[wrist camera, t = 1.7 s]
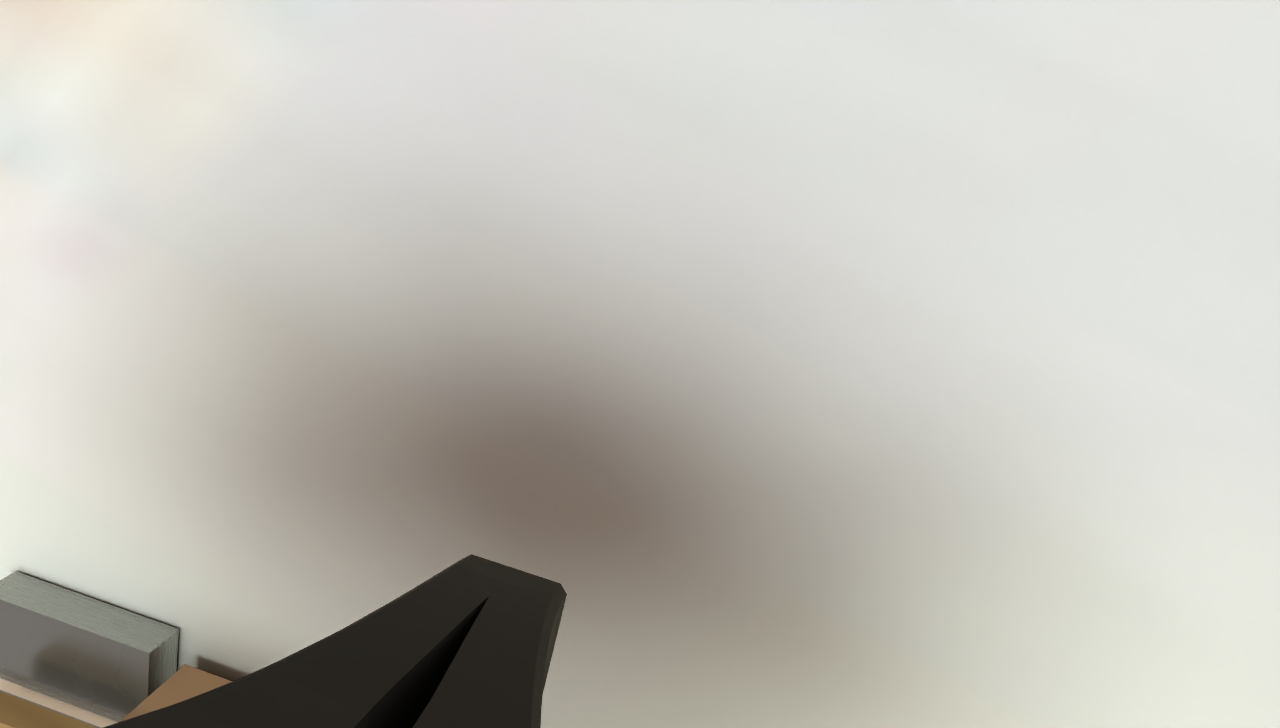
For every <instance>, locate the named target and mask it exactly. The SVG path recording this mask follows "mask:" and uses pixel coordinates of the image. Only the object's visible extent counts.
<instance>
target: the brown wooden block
mask: <svg viewBox="0 0 1280 728" xmlns="http://www.w3.org/2000/svg"><path fill="white" fill-rule="evenodd" d="M230 682H233V681H230V680H227V679H224V678H221V677H219V676H216V675H213V674H210V673H208V672H205V671H202V670H199V669H197V668H194V667H191V666H188V665H183V666H182V667H181V668H180V669H179V670H178V671H177V672H175V673H174V674H173V675H172V676H171V677H170V678H169V679H168V680H166V681H165V682H164V683H163V684H162V685H161V686H160V687H159V688H157V689H156V690H155V691H154V692H153V693H152V694H151V695H150V696H148V697H147V698H146V699H145V700H144V701H143V702H142V703H140V704H139V705H138V706H137V707H136V708H135V709H134V710H133V711H131V712H130V713H129V714H128V715H127V716H126V717H125V718H124V719H122V720H121V721H124V720H127V719H130V718H134V717H137V716H140V715H143V714H146V713H149V712H152V711H155V710H158V709H161V708H164V707H167V706H170V705H173V704H176V703H179V702H181V701H184V700H187V699H190V698H192V697H195V696H197V695H200V694H202V693H205V692H208V691H210V690H213V689H215V688H218V687H220V686H223V685H225V684H228V683H230ZM121 721H120V722H121ZM0 728H97V727H95V726H92V725H89V724H87V723H84V722H81V721H79V720H76V719H73V718H71V717H68V716H65V715H63V714H60V713H57V712H55V711H52V710H49V709H47V708H44V707H41V706H39V705H36V704H33V703H31V702H28V701H25V700H23V699H20V698H17V697H15V696H12V695H9V694H7V693H4V692H1V691H0Z"/></svg>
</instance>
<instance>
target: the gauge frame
mask: <svg viewBox="0 0 1280 728" xmlns="http://www.w3.org/2000/svg"><path fill="white" fill-rule="evenodd" d="M178 635H179V629H177V628H175V627H172V626H169V625H166V624H163V623H160V622H158V621H155V620H152V619H149V618H146V617H144V616H141V615H138V614H135V613H132V612H129V611H127V610H124V609H121V608H118V607H115V606H113V605H110V604H107V603H104V602H101V601H99V600H96V599H93V598H90V597H87V596H84V595H82V594H79V593H76V592H73V591H70V590H68V589H65V588H62V587H59V586H56V585H54V584H51V583H48V582H45V581H42V580H39V579H37V578H34V577H31V576H28V575H25V574H23V573H20V572H17V571H16V572H14V573H12V574H10V575H9V576H7V577H5V578H4V579H2V580H0V691H1V692H4V693H7V694H9V695H12V696H15V697H17V698H20V699H23V700H25V701H28V702H31V703H33V704H36V705H39V706H41V707H44V708H47V709H49V710H52V711H55V712H57V713H60V714H63V715H65V716H68V717H71V718H73V719H76V720H79V721H81V722H84V723H87V724H89V725H92V726H95V727H97V728H103V727H106V726H109V725H112V724H115V723H118V722H120V721H121V720H122V719H124V718H125V717H126V716H127V715H128V714H129V713H130V712H131V711H133V710H134V709H135V708H136V707H137V706H138V705H139V704H140V703H142V702H143V701H144V700H145V699H146V698H147V697H148V696H150V695H151V694H152V693H153V692H154V691H155V690H156V689H157V688H159V687H160V686H161V685H162V684H163V683H164V682H165V681H166V680H168V679H169V678H170V677H171V676H172V675H173V674H174V673H175V672H176V669H177V652H178Z"/></svg>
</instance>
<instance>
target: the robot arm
mask: <svg viewBox="0 0 1280 728" xmlns="http://www.w3.org/2000/svg"><path fill="white" fill-rule="evenodd" d="M566 595H567V594H566V592H565V591H564V589H563V587H562V585H561V584H560V583H557V582H554V581H551V580H548V579H545V578H542V577H539V576H536V575H532V574H529V573H526V572H523V571H520V570H517V569H514V568H511V567H508V566H505V565H502V564H499V563H496V562H493V561H490V560H487V559H484V558H481V557H478V556H475V555H470V556H468V557H465V558H463V559H462V560H460V561H458V562H456V563H455V564H453V565H451V566H450V567H448V568H447V569H445V570H443V571H442V572H440V573H438V574H437V575H435V576H433V577H432V578H430V579H429V580H427V581H425V582H424V583H422V584H420V585H419V586H417V587H415V588H414V589H412V590H410V591H409V592H407V593H405V594H404V595H402V596H400V597H399V598H397V599H395V600H393V601H392V602H390V603H388V604H386V605H385V606H383V607H381V608H379V609H378V610H376V611H374V612H372V613H370V614H369V615H367V616H365V617H363V618H361V619H360V620H358V621H356V622H354V623H353V624H351V625H349V626H347V627H345V628H343V629H342V630H340V631H338V632H336V633H334V634H332V635H330V636H328V637H326V638H324V639H322V640H320V641H318V642H316V643H314V644H312V645H310V646H308V647H306V648H304V649H302V650H300V651H298V652H296V653H294V654H292V655H290V656H288V657H286V658H284V659H282V660H280V661H278V662H276V663H273V664H271V665H269V666H267V667H265V668H262V669H260V670H258V671H256V672H254V673H251V674H249V675H247V676H245V677H242V678H240V679H238V680H235V681H233V682H230V683H228V684H225V685H223V686H220V687H218V688H215V689H213V690H210V691H208V692H205V693H202V694H200V695H197V696H195V697H192V698H190V699H187V700H184V701H181V702H179V703H176V704H173V705H170V706H167V707H164V708H161V709H158V710H155V711H152V712H149V713H146V714H143V715H140V716H137V717H134V718H130V719H127V720H124V721H121V722H118V723H115V724H112V725H109V726H106V727H103V728H540V724H541V704H542V694H543V690H544V686H545V682H546V678H547V673H548V669H549V665H550V661H551V657H552V653H553V649H554V645H555V640H556V636H557V632H558V628H559V624H560V620H561V616H562V612H563V608H564V603H565V599H566Z"/></svg>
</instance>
